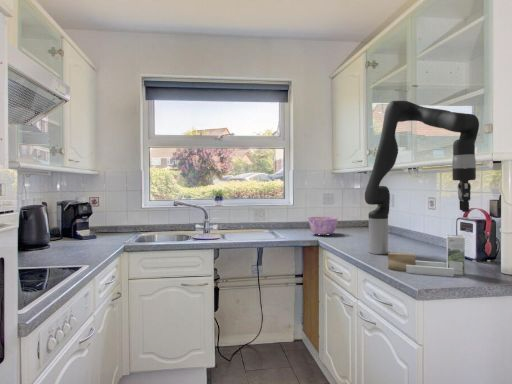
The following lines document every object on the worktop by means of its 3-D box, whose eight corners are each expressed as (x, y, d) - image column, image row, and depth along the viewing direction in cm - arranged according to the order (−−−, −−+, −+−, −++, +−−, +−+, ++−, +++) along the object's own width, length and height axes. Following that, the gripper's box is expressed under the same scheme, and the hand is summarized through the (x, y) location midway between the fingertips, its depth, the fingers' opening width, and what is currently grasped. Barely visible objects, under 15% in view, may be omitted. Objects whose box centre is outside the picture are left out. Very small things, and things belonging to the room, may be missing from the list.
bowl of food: (306, 236, 239) (305, 219, 239) (310, 232, 258) (310, 216, 258) (336, 237, 233) (336, 219, 233) (339, 233, 252) (338, 216, 252)
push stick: (388, 267, 148) (388, 252, 148) (415, 269, 144) (415, 254, 143) (388, 268, 145) (388, 254, 145) (415, 271, 141) (415, 255, 141)
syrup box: (463, 272, 138) (463, 234, 138) (464, 276, 133) (464, 237, 133) (446, 271, 141) (446, 234, 140) (447, 275, 135) (447, 236, 135)
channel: (394, 266, 151) (394, 259, 151) (451, 270, 142) (451, 262, 142) (392, 272, 141) (392, 264, 141) (453, 277, 132) (453, 269, 132)
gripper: (451, 168, 143) (451, 209, 143) (454, 167, 130) (454, 212, 130) (473, 167, 139) (473, 209, 140) (478, 166, 126) (478, 212, 127)
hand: (464, 211), depth 135 cm, fingers open, 8 cm apart
